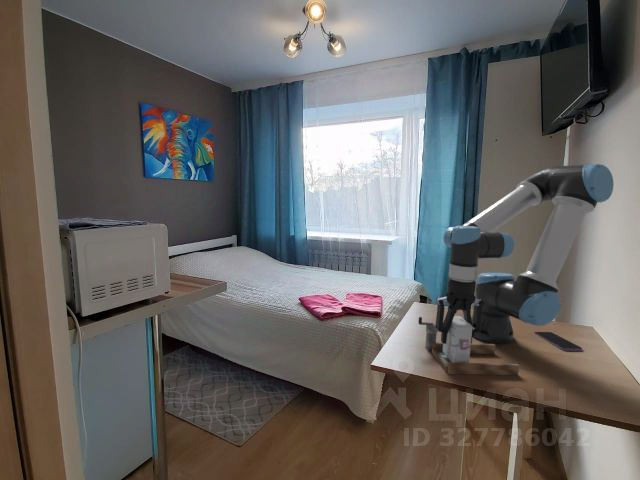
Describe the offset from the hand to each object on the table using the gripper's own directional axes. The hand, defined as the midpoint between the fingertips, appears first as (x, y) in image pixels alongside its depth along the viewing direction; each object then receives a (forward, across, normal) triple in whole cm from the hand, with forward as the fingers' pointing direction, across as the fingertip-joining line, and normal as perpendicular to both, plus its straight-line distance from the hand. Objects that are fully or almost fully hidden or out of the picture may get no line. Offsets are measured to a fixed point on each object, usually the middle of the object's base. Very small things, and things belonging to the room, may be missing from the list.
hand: (455, 353), depth 103 cm
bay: (+3, -3, -2) cm, 5 cm away
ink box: (+2, 0, 0) cm, 2 cm away
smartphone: (+3, -44, -17) cm, 47 cm away
